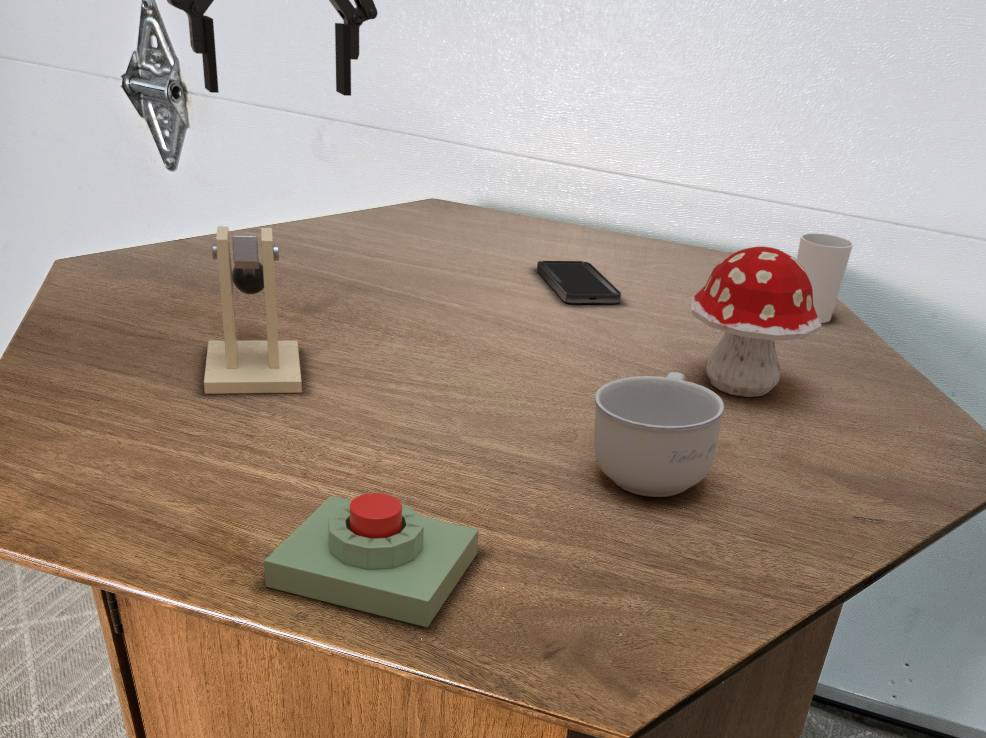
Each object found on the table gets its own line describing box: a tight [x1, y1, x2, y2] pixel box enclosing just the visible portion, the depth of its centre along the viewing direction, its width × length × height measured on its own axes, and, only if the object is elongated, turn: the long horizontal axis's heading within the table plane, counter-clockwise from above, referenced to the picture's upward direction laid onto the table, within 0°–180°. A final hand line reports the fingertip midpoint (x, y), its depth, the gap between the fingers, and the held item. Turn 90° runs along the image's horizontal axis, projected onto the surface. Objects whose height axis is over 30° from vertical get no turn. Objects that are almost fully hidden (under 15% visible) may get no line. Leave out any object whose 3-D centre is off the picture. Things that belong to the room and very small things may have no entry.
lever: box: [231, 235, 264, 295], centre depth 98 cm, size 13×4×4 cm, turn 14°
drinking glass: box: [796, 232, 854, 324], centre depth 129 cm, size 7×7×10 cm
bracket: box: [203, 226, 303, 395], centre depth 95 cm, size 11×9×14 cm
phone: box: [536, 260, 622, 305], centre depth 133 cm, size 8×1×15 cm
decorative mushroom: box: [690, 246, 822, 398], centre depth 103 cm, size 14×14×15 cm
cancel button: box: [350, 492, 403, 539], centre depth 68 cm, size 4×4×2 cm
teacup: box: [593, 371, 725, 498], centre depth 85 cm, size 14×11×8 cm
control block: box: [263, 495, 479, 628], centre depth 70 cm, size 12×10×4 cm
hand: (279, 92), depth 101 cm, fingers open, 13 cm apart
